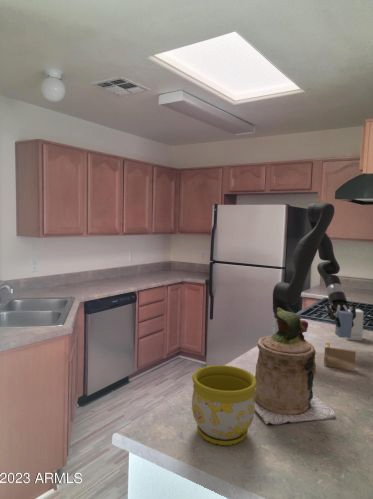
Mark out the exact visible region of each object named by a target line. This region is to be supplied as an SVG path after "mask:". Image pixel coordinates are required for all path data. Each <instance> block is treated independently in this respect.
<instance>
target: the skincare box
mask: <svg viewBox="0 0 373 499" xmlns="http://www.w3.org/2000/svg"><path fill="white" fill-rule="evenodd" d="M348 311H349V312H350V310H349V309H348ZM364 313H365V312H364V311H363V310H361V309H360V308H356V318H355V319H354V320H353V323H354V326H353V327H352V330H351V338H344V339H345V340H346V341H363V331H364V329H363V328H364Z"/></svg>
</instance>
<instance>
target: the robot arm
mask: <svg viewBox="0 0 373 499" xmlns="http://www.w3.org/2000/svg"><path fill="white" fill-rule="evenodd" d="M306 213H307V214H306V215H307V219H308V222H309V225H310V228H311V230H310V231H309V232H308V233H307V234H306V235H305V236H303V237H302V238H301V239H300V240H299V241H298V243H297V245H296V247H295V249H294V251H293V253H292V254H293V255H292V261H293V269H294V271H293V276H292V278H291V281H290V282H289V283H288V282H283V281H279V282H276V284H275V285H274V288H273V290H272V312H273V328H272V329H273V332H271V334H270V336H272V335H274V334H275V333H276V332H278V330H279V329H278V324H277V319H278V318H277V308H281V309H282V310H284V311H287V312H292V313H295V311H293V309H292V308H291V307H290V306H294V305H296V304H297V303H298V301H299V300H300V298H301V297H302V292H303V290H304V287H305V286H304V285H305V282H306V279H307V276H308V274H309V271H310V269H311V267H312V264H313V261H314V260H315V258H316V255H317V253H318V256H319V257H318V258H319V259H320V260H321V262H319V263H318V264H317V266H316V269H317V272H318V274H319V275H320V277H321V278H322V280H323V282H324V284H325V288H326V293H327V297H328V302H329V305H326V306H325V308H324V310H325V312H326V314H327V316H328V318H329V319H330V320H334V322H335V327H336V326H337V327H340V326H341V324H340V320H339V318H338V311H348V309H349V310H350V312H351V313H352V314H353V318H352V327H353V326H354V323H353V320H354V319H355V318H356V309H357V308H356V306H350V305H349V304H348V300H347V296H346V294H345V290H344V288H343V286H342V283H341V280H340V277H339V276H338V275H336V274H339V273H340V271H341V266H340V264H339V263H338V261H337V259H336V256H335V251H334V247H333V246H334V245H333V242H332V239H331V238H330V236H329V235H328V233H326V231H327V230H328V228H329V227H330V224H331V222H333V218H334V215H335V206H334V205H333V204H332V203H329V202H312V203H310V204H309V205H308V207H307V212H306ZM322 261H323V262H322Z"/></svg>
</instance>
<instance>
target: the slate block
mask: <svg viewBox="0 0 373 499" xmlns="http://www.w3.org/2000/svg"><path fill="white" fill-rule="evenodd" d="M338 318H339V320H340V324H341V326H340V327H337V326H336V325H335V331H334V334H335V335H336V336H337V337H339V338H344V339H345V338H351V330H352V318H353V314H352V313H351V312H349V311H338Z"/></svg>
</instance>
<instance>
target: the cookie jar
mask: <svg viewBox="0 0 373 499" xmlns="http://www.w3.org/2000/svg"><path fill="white" fill-rule="evenodd" d="M277 318H278V319H277V324H278V329H279V330H278V332H276V333H275V334H274V335H272V336H271V335H266V336H264V337H260V338H259V339H258V340H257V344H256V346H257V348H258V356H257V357H258V358H257V361H256V364H255V374H254V377H255V378H256V381H257V384H256V387H255V394H254V397H255V413H257V414H258V415H259V416H260V418H261V419H262V420H263V422H264V424H265V425H268V424H272V425H282V424H286V423H300V422H308V421H319V420H328V419H333V418H334V417H335V416H336V412H335V411H334V409H333V408H332V407H330V406H329V405H327V404H326V403H324V401H321V399H320V398H318V396H316V395H314V392H313V387H314V379H315V375H316V373H317V370H316V369H317V364H316V360H315V359H316V353H317V352H316V350H315V347H314V345H313V343H310V342H309V341H307V339H305V335H304V333H306V332H307V331H308V328H309V322H308V321H307V320H305V319H301V318H300V316H299V315H298V314H297V313H295V312H294V313H292V312H287V311H284V310H282V309H281V308H277Z"/></svg>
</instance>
